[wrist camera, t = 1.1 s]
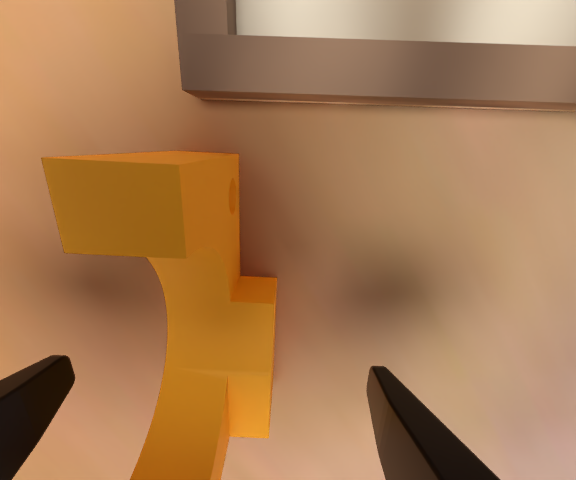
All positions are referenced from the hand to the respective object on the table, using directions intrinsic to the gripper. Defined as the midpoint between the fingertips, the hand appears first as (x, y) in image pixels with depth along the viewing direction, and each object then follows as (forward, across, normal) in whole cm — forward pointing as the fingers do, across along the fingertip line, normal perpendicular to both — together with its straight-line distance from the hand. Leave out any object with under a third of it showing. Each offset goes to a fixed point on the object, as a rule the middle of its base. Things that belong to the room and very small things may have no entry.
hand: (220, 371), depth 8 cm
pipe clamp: (+6, +1, 0) cm, 6 cm away
